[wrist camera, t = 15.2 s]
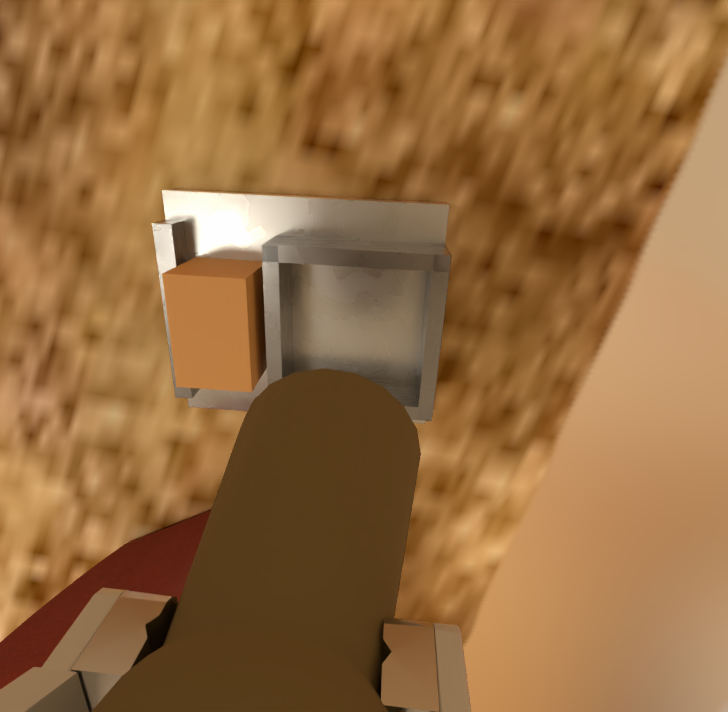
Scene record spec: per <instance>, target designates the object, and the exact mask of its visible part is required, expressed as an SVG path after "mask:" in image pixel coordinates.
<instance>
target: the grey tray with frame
mask: <svg viewBox="0 0 728 712" xmlns="http://www.w3.org/2000/svg"><path fill="white" fill-rule="evenodd" d="M162 195H163V203H164V211H165V220H163V221H159V222H155V223H152V228H153V235H154V243H155V250H156V257H157V265H158V272H159V279H160V287H161V294H162V302H163V309H164V316H165V324H166V331H167V338H168V346H169V353H170V361H171V368H172V375H173V383H174V390H175V397H179V398H188V405H189V407H198V408H212V409H226V410H240V411H248V409H249V407H250V405H251V403H252V401H253V400H254V399H255V398H256V397H257V396H258V395H259V394H260V393H261V392H262V391H263V390H264V389H265V388H266V387H267V386H268V385H269V384H271V383H273V382H275V381H278V380H280V379H282V378H284V377H286V376H288V375H290V374H292V373H295V372H301V371H308V370H316V369H323V368H326V369H332V370H338V371H344V372H351V373H356V374H358V375H360V376H362V377H364V378H366V379H368V380H370V381H372V382H375V383H377V384H379V385H381V386H383V387H384V388H385V389H386V390H387V391H388V392H389V393H390V394H391V395H393V396H394V397H395V398H396V399H397V400H398V401H399V402H400V403H401V404H402V405H404V407H405V409H406V411H407V412H408V414H409V416H410V418H411V420H412V421H413V423H425V421H432V415H433V407H434V398H435V390H436V382H437V373H438V365H439V356H440V348H441V340H442V331H443V323H444V314H445V306H446V298H447V289H448V281H449V272H450V264H451V256H452V255H451V254H450V252H449V250H448V249H447V247H446V245H445V241H446V232H447V223H448V214H449V204H448V203H447V202H429V201H409V200H390V199H370V198H351V197H331V196H312V195H292V194H272V193H253V192H233V191H214V190H194V189H175V188H174V189H167V190H162ZM195 257H201V258H217V259H234V260H250V261H262V270H263V292H264V315H265V337H266V360H267V369H266V370H265V372H264V374H263V375H262V377H261V378H260V380H259V382H258V383H257V385H256V386H255V388H254V390H253V391H252V392H240V391H227V390H213V389H199V388H185V387H176V379H175V372H174V364H173V356H172V348H171V341H170V333H169V325H168V317H167V309H166V302H165V294H164V286H163V278H162V273H164V272H166V271H168V270H170V269H172V268H175V267H177V266H179V265H181V264H183V263H185V262H187V261H189V260H191V259H193V258H195Z"/></svg>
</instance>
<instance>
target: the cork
mask: <svg viewBox="0 0 728 712" xmlns="http://www.w3.org/2000/svg"><path fill="white" fill-rule="evenodd" d="M420 455H421V453H420V446H419V440H418V434H417V429H416V427H415V425H414V423H413V421H412V420H411V418H410V416H409V414H408V412H407V411H406V409H405V407H404V405H402V404H401V403H400V402H399V401H398V400H397V399H396V398H395V397H394V396H393V395H391V394H390V393H389V392H388V391H387V390H386V389H385V388H384V387H383V386H381V385H379V384H377V383H375V382H372V381H370V380H368V379H366V378H364V377H362V376H360V375H358V374H356V373H351V372H344V371H338V370H332V369H326V368H323V369H316V370H308V371H301V372H295V373H292V374H290V375H288V376H286V377H284V378H282V379H280V380H278V381H275V382H273V383H271V384H269V385H268V386H267V387H266V388H265V389H264V390H263V391H262V392H261V393H260V394H259V395H258V396H257V397H256V398H255V399H254V400H253V401H252V403H251V405H250V407H249V409H248V412H247V414H246V416H245V418H244V421H243V423H242V425H241V428H240V431H239V434H238V437H237V439H236V442H235V445H234V448H233V451H232V453H231V456H230V459H229V462H228V465H227V467H226V470H225V473H224V476H223V479H222V482H221V484H220V487H219V490H218V493H217V496H216V498H215V501H214V504H213V507H212V510H211V512H210V515H209V518H208V521H207V524H206V527H205V529H204V532H203V535H202V538H201V541H200V543H199V546H198V549H197V552H196V555H195V557H194V560H193V563H192V566H191V569H190V571H189V574H188V577H187V580H186V583H185V586H184V588H183V591H182V594H181V597H180V600H179V602H178V605H177V608H176V611H175V614H174V616H173V619H172V622H171V625H170V628H169V631H168V633H167V636H166V639H165V642H164V645H163V647H161V648H159V649H158V650H156V651H154V652H153V653H151V654H149V655H148V656H146V657H145V658H144V659H143V660H141V661H140V662H139V663H138V664H136V665H135V666H134V667H133V668H131V669H130V670H129V671H128V672H126V673H125V674H124V675H123V676H122V677H121V678H120V679H119V680H118V681H117V682H116V683H115V685H114V686H113V687H112V688H111V689H110V690H109V692H108V693H107V694H106V695H105V696H104V697H103V699H102V700H101V701H100V702H99V703H98V704H97V706H96V707H95V708H94V709H93V710H92V711H91V712H389V711H388V710H387V709H386V707H385V706H384V705H383V703H382V701H381V698H380V696H379V688H380V678H381V670H382V663H383V660H382V639H383V623H384V618H394V615H395V608H396V602H397V596H398V590H399V584H400V578H401V571H402V565H403V559H404V553H405V547H406V541H407V535H408V528H409V522H410V516H411V510H412V504H413V498H414V492H415V485H416V479H417V473H418V467H419V461H420Z"/></svg>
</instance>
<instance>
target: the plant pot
mask: <svg viewBox="0 0 728 712" xmlns="http://www.w3.org/2000/svg"><path fill="white" fill-rule="evenodd" d="M210 512H211V510H210V511H208V512H205V513H203V514H200V515H198V516H195V517H193V518H190V519H188V520H185V521H183V522H180V523H178V524H175V525H173V526H170V527H168V528H165V529H162V530H160V531H157V532H155V533H152V534H150V535H147V536H145V537H142V538H140V539H137V540H135V541H132V542H130V543H127V544H125V545H123V546H122V547H120V548H119V549H118V550H116V551H115V552H113V553H112V554H111V555H109V556H108V557H106V558H105V559H104V560H102V561H101V562H99V563H98V564H97V565H95V566H94V567H93V568H91V569H90V570H89V571H87V572H86V573H85V574H84V575H82V576H81V577H80V578H78V579H77V580H76V581H74V582H73V583H72V584H71V585H69V586H68V587H67V588H66V589H64V590H63V591H62V592H60V593H59V594H58V595H57V596H55V597H54V598H53V599H52V600H50V601H49V602H48V603H47V604H45V605H44V606H43V607H42V608H40V609H39V610H38V611H37V612H36V613H34V614H33V615H32V616H31V617H30V618H28V619H27V620H26V621H25V622H24V623H22V624H21V625H20V626H19V627H18V628H17V629H15V630H14V631H13V632H12V633H11V634H10V635H8V636H7V637H6V638H5V639H4V640H3V641H2V642H0V689H2V688H3V687H5V686H6V685H8V684H9V683H11V682H12V681H14V680H15V679H17V678H18V677H20V676H21V675H23V674H24V673H26V672H27V671H28V670H30V669H31V668H33V667H42V666H43V665H44V663H45V662H46V660H47V659H48V658H49V656H50V655H51V653H52V652H53V651H54V649H55V648H56V647H57V645H58V644H59V642H60V641H61V640H62V638H63V637H64V635H65V634H66V633H67V631H68V630H69V629H70V627H71V626H72V624H73V623H74V622H75V620H76V619H77V617H78V616H79V615H80V613H81V612H82V610H83V609H84V608H85V606H86V605H87V604H88V602H89V601H90V599H91V598H92V597H93V595H94V594H95V593H97V592H98V591H99V590H100V589H102V588H111V589H120V590H128V591H135V592H143V593H151V594H159V595H167V596H174V597H177V600H178V602H179V600H180V597H181V594H182V591H183V588H184V586H185V583H186V580H187V577H188V574H189V571H190V569H191V566H192V563H193V560H194V557H195V555H196V552H197V549H198V546H199V543H200V541H201V538H202V535H203V532H204V529H205V527H206V524H207V521H208V518H209V515H210Z"/></svg>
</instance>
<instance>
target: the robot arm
mask: <svg viewBox="0 0 728 712" xmlns="http://www.w3.org/2000/svg"><path fill="white" fill-rule="evenodd" d="M177 605H178V600H177V597H174V596H167V595H159V594H151V593H143V592H135V591H128V590H120V589H111V588H102V589H100V590H99V591H98V592H97V593H95V594H94V595H93V597H92V598H91V599H90V601H89V602H88V604H87V605H86V606H85V608H84V609H83V610H82V612H81V613H80V615H79V616H78V617H77V619H76V620H75V622H74V623H73V624H72V626H71V627H70V629H69V630H68V631H67V633H66V634H65V635H64V637H63V638H62V640H61V641H60V642H59V644H58V645H57V647H56V648H55V649H54V651H53V652H52V653H51V655H50V656H49V658H48V659H47V660H46V662H45V663H44V665H43V666H42V667H33V668H31V669H30V670H28V671H27V672H26V673H24V674H23V675H21V676H20V677H18V678H17V679H15V680H14V681H12V682H11V683H9V684H8V685H6V686H5V687H3V688H2V689H0V712H91V711H92V710H93V709H94V708H95V707H96V706H97V704H98V703H99V702H100V701H101V700H102V699H103V697H104V696H105V695H106V694H107V693H108V692H109V690H110V689H111V688H112V687H113V686H114V685H115V683H116V682H117V681H118V680H119V679H120V678H121V677H122V676H123V675H124V674H125V673H126V672H128V671H129V670H130V669H131V668H133V667H134V666H135V665H136V664H138V663H139V662H140V661H141V660H143V659H144V658H145V657H146V656H148V655H149V654H151V653H153V652H154V651H156V650H158V649H159V648H161V647H163V645H164V642H165V639H166V636H167V633H168V631H169V628H170V625H171V622H172V619H173V616H174V614H175V611H176V608H177ZM382 660H383V663H382V670H381V678H380V688H379V696H380V698H381V701H382V703H383V705H384V706H385V707H386V709H387V710H388V711H389V712H471V705H470V697H469V690H468V682H467V674H466V667H465V659H464V651H463V643H462V635H461V630H460V628H459V626H458V625H452V624H441V623H432V622H428V621H417V620H406V619H394V618H384V623H383V639H382Z"/></svg>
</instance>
